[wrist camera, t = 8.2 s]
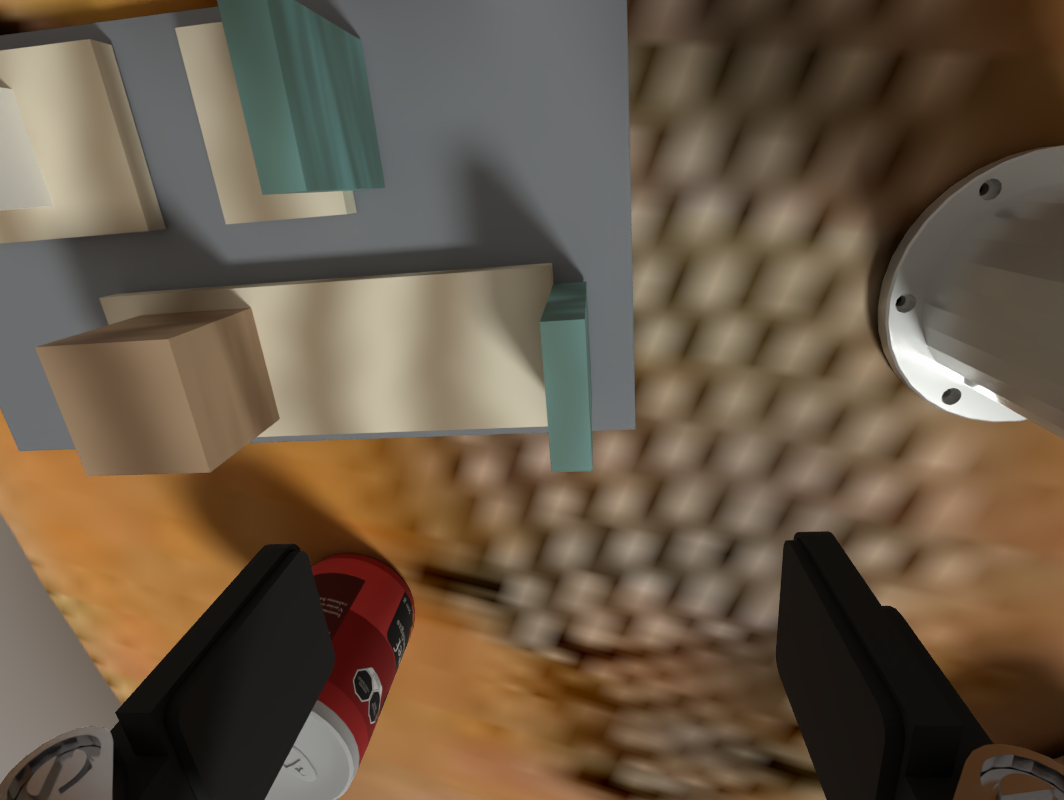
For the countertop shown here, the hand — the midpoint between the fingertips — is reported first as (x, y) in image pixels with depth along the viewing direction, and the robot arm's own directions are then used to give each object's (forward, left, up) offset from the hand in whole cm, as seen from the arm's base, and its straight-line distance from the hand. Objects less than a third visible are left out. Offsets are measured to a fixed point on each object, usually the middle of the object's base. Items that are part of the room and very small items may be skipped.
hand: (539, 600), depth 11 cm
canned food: (+15, +17, -20) cm, 30 cm away
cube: (+19, 0, -18) cm, 26 cm away
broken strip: (+21, -11, -19) cm, 30 cm away
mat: (+15, -5, -20) cm, 26 cm away
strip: (+11, 0, -19) cm, 22 cm away
